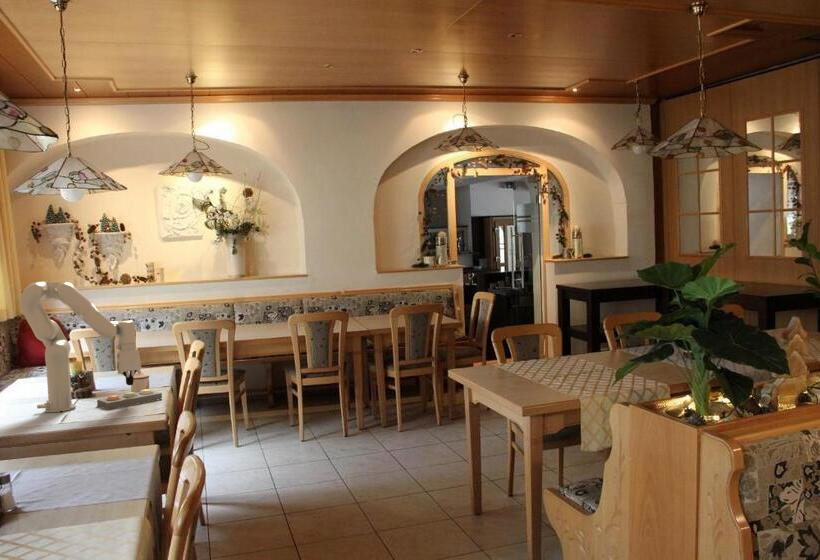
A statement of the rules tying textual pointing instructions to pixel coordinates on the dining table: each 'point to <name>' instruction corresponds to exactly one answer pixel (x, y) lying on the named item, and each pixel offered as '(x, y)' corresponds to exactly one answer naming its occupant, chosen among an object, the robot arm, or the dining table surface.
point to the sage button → (129, 394)
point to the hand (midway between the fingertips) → (129, 384)
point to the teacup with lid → (140, 382)
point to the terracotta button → (113, 397)
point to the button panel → (128, 400)
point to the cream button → (145, 391)
